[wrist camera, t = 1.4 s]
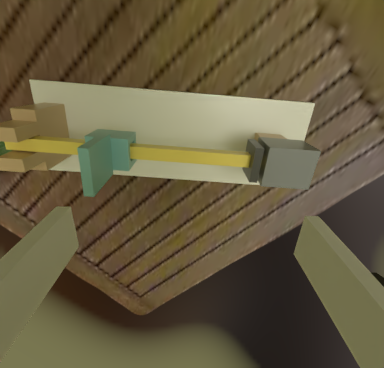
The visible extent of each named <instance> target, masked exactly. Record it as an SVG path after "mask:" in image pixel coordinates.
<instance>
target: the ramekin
mask: <svg viewBox="0 0 384 368" xmlns="http://www.w3.org/2000/svg"><path fill="white" fill-rule="evenodd" d="M11 151H12V150H6V147H5V143H4V142H3V141H0V156H1V155H3V154H6V153H8V152H11Z"/></svg>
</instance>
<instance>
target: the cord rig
mask: <svg viewBox="0 0 384 368" xmlns="http://www.w3.org/2000/svg"><path fill="white" fill-rule="evenodd" d="M29 81H30V86H31V91H32V96H33V100H34V104H31V105H25V106H19V107H13V108H10V112H11V116H12V120H10V121H5V122H1V123H0V141H3V142H4V143H5V147H6V150H13V151H11V152H8V153H6V154H3V155H1V156H0V171H14V172H27V171H29V170H30V169H32V170H45V171H48V170H60V171H73V172H81V171H80V164H79V157H78V150H77V148H78V147H79V146H81V145H83V144H84V143H85V137H84V136H86V135H87V134H89V133H91V132H93V131H95V130H97V129H105V130H117V131H130V132H136V143H131V144H130V159H137V161H136V162H135V164H134V165H133V166H132V168H131V169H130V171H119V170H113V174H115V175H129V176H142V177H156V178H170V179H184V180H198V181H211V182H225V183H239V184H253V185H261V186H266V187H280V188H294V189H309V186H310V183H311V180H312V177H313V174H314V171H315V168H316V165H317V162H318V159H319V156H320V153H321V151H320V150H318V149H316V148H315V147H313V146H311V145H309V144H308V143H306V142H304V139H305V136H306V133H307V129H308V126H309V122H310V119H311V116H312V112H313V109H314V105H315V103H311V102H299V101H287V100H275V99H263V98H251V97H239V96H227V95H215V94H203V93H191V92H179V91H167V90H155V89H143V88H131V87H119V86H107V85H95V84H83V83H71V82H59V81H47V80H35V79H32V80H29Z"/></svg>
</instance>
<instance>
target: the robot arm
mask: <svg viewBox="0 0 384 368" xmlns="http://www.w3.org/2000/svg"><path fill="white" fill-rule="evenodd" d="M78 247H79V244H78V239H77V234H76V230H75V225H74V220H73V215H72V211H71V207H58V206H57V207H56V208H55V209H54V210H52V211H51V212H50V213H49V214H48V215H47V216H46V217H45V218H44V219H43V220H42V221H41V222H40V223H39V224H38V225H37V226H35V227H34V228H33V229H32V230H31V231H30V232H29V233H28V234H27V235H26V236H25V237H24V238H23V239H22V240H21V241H19V242H18V243H17V244H16V245H15V246H14V247H13V248H12V249H11V250H10V251H9V252H8V253H7V254H6V255H5V256H3V258H1V259H0V362H1V361H2V359H3V358H4V356H5V355H6V353H7V351H8V350H9V349H10V347H11V346H12V344H13V343H14V341H15V340H16V339H17V337H18V335H19V334H20V333H21V331H22V330H23V328H24V327H25V325H26V324H27V322H28V321H29V319H30V317H31V316H32V315H33V313H34V312H35V311H36V309H37V308H38V306H39V305H40V303H41V302H42V300H43V298H44V297H45V296H46V294H47V293H48V291H49V290H50V288H51V287H52V285H53V284H54V282H55V281H56V280H57V278H58V277H59V275H60V274H61V272H62V271H63V269H64V268H65V266H66V265H67V263H68V262H69V260H70V259H71V257H72V256H73V254H74V253H75V252H76V250H77V249H78ZM294 255H295V257H296V259H297V260H298V262H299V264H300V265H301V267H302V269H303V270H304V272H305V274H306V276H307V277H308V279H309V281H310V283H311V284H312V286H313V288H314V289H315V291H316V293H317V295H318V296H319V298H320V299H321V301H322V303H323V305H324V306H325V308H326V310H327V312H328V313H329V315H330V317H331V318H332V320H333V322H334V323H335V325H336V327H337V329H338V330H339V332H340V334H341V335H342V337H343V339H344V341H345V342H346V344H347V346H348V348H349V349H350V351H351V353H352V354H353V356H354V358H355V360H356V361H357V363H358V365H359V366H360V368H384V278H383V277H382V276H380V275H379V274H377V273H370V272H369V271H368V269H366V267H365V266H364V265H363V264H362V263H361V262H360V261H359V260H358V259H357V258H356V257H355V255H354V254H353V253H352V252H351V251H350V250H349V249H348V248H347V247H346V246H345V245H344V244H343V242H342V241H341V240H340V239H339V238H338V237H337V236H336V235H335V234H334V233H333V232H332V230H331V229H330V228H329V227H328V226H327V225H326V224H325V223H324V222H323V221H322V220H321V219H320V218H319V216H305V218H304V221H303V225H302V228H301V232H300V235H299V238H298V241H297V245H296V248H295V251H294Z"/></svg>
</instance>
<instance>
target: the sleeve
mask: <svg viewBox="0 0 384 368" xmlns="http://www.w3.org/2000/svg"><path fill="white" fill-rule="evenodd" d="M84 137H85V143H84V144H83V145H81V146H79V147H78V148H77V150H78V157H79V164H80V171H81V178H82V185H83V192H84V196H90V197H94V196H95V195H96V194H97V193H98V192H99V190H100V189H101V188H102V187H103V186H104V184H105V183H106V182H107V181H108V180H109V178H110V177H111V176H112V175H113V170H119V171H130V169H131V168H132V166H133V165H134V164H135V162H136V161H137V159H130V144H131V143H136V132H130V131H117V130H105V129H97V130H95V131H93V132H91V133H89V134H87V135H86V136H84Z"/></svg>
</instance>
